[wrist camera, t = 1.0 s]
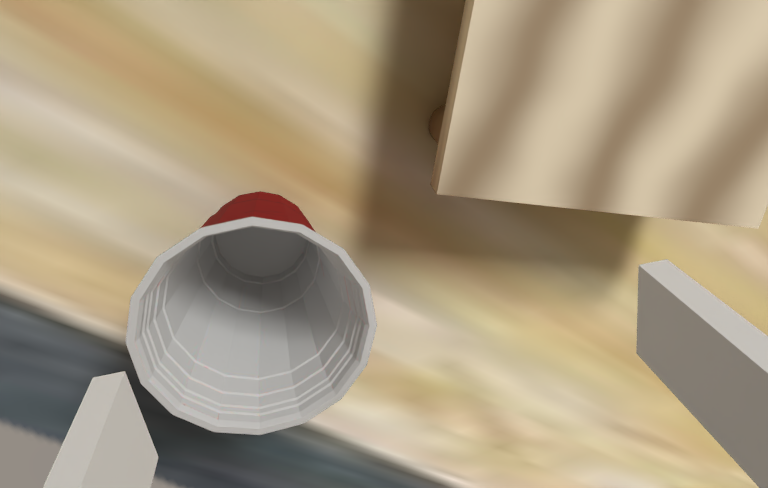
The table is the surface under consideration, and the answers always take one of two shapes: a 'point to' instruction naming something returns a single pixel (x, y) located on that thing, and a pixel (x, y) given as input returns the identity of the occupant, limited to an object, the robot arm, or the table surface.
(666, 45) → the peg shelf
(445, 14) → the table surface
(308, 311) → the plastic cup
